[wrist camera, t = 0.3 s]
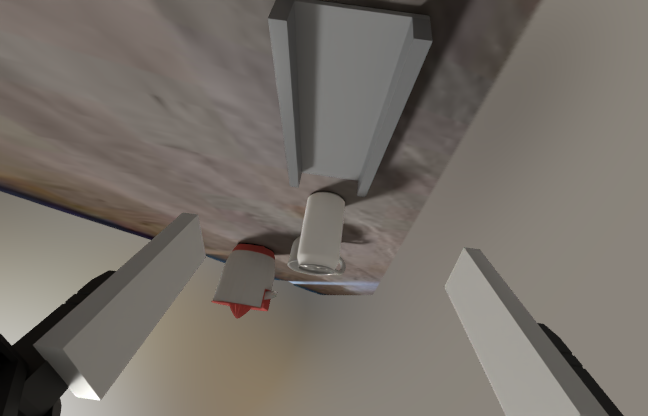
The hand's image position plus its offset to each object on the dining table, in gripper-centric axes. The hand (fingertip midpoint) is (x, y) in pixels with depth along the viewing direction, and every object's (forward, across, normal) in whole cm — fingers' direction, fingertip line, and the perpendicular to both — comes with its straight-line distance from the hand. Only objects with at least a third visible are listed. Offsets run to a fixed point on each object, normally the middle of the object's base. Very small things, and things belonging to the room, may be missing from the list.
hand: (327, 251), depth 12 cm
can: (+27, 0, -11) cm, 30 cm away
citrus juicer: (+49, -20, -42) cm, 67 cm away
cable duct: (+17, 0, +4) cm, 17 cm away
